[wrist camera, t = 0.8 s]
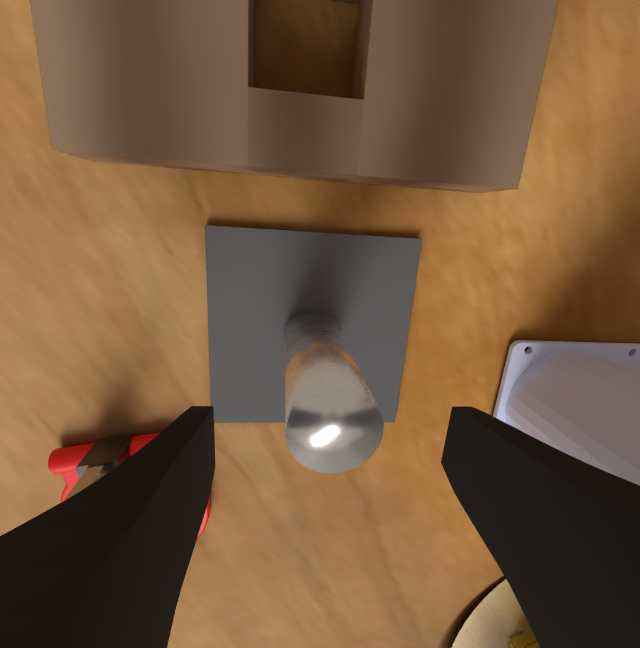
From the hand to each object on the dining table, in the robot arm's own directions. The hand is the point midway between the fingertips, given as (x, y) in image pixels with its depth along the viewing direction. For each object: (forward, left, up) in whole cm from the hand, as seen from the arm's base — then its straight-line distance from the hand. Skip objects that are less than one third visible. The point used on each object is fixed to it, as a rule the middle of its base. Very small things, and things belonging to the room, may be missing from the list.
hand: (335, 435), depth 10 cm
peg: (0, 0, -9) cm, 9 cm away
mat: (0, 0, -10) cm, 10 cm away
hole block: (+1, -13, -10) cm, 16 cm away
